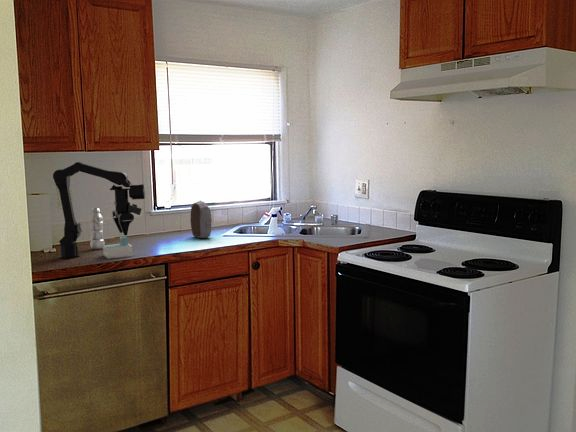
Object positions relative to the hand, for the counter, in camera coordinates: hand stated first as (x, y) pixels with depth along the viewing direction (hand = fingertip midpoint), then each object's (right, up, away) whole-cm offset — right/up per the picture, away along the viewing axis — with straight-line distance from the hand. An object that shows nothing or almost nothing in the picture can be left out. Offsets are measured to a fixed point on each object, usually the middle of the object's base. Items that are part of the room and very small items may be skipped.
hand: (123, 234), depth 252 cm
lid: (-2, -6, -1) cm, 6 cm away
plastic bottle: (-18, -8, +17) cm, 26 cm away
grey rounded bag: (+29, -4, +47) cm, 55 cm away
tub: (-2, -10, 0) cm, 10 cm away
